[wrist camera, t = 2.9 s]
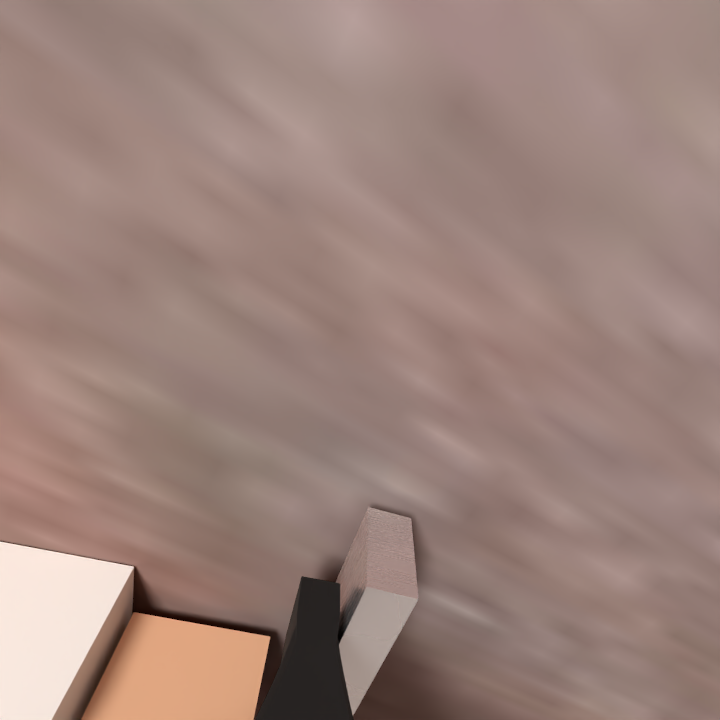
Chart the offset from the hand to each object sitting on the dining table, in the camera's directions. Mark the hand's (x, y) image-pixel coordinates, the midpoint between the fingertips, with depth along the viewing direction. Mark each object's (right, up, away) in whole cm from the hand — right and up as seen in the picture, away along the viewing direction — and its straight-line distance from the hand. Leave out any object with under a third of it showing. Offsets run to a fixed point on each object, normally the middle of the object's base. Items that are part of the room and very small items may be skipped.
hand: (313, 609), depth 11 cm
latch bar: (0, -4, +3) cm, 5 cm away
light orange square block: (-4, -3, +3) cm, 6 cm away
